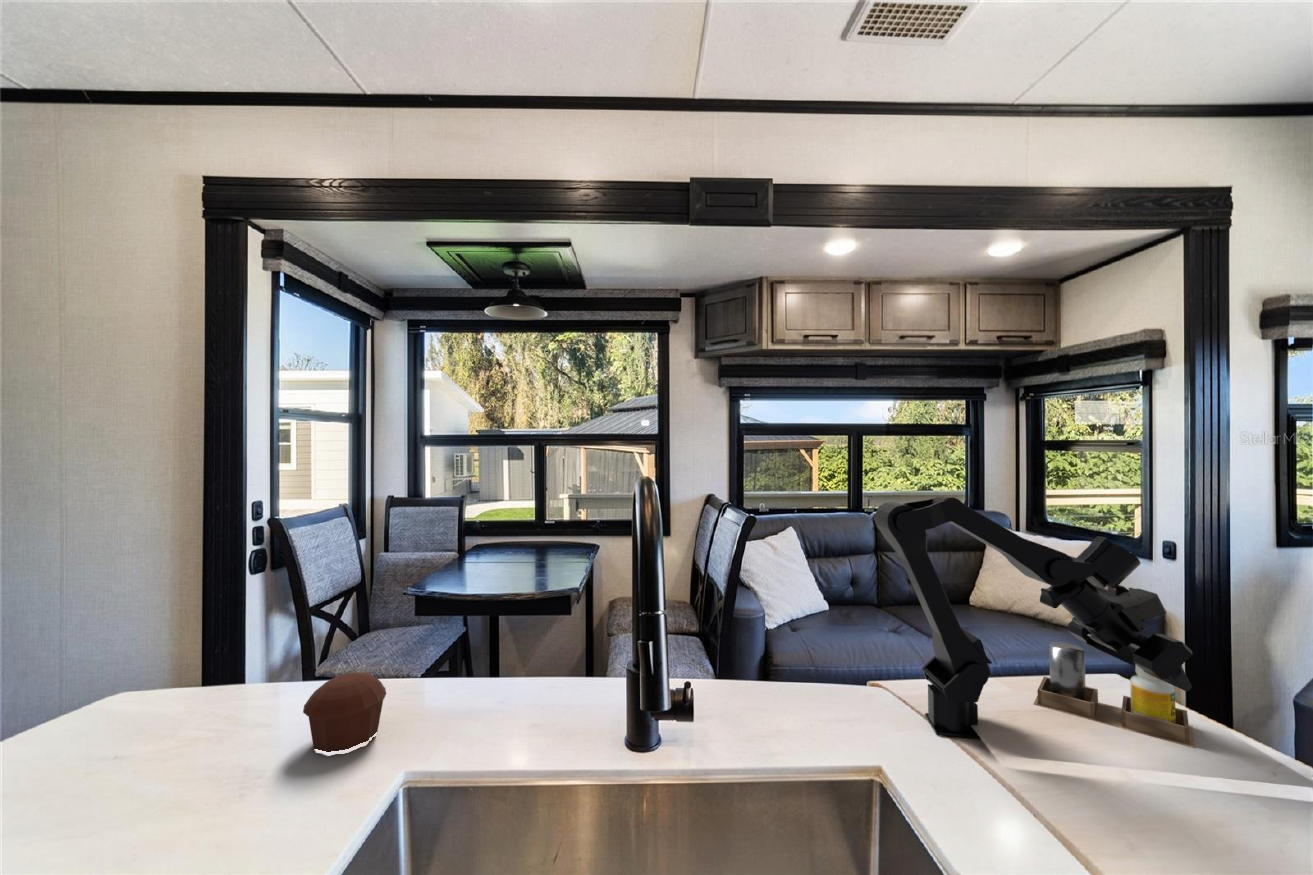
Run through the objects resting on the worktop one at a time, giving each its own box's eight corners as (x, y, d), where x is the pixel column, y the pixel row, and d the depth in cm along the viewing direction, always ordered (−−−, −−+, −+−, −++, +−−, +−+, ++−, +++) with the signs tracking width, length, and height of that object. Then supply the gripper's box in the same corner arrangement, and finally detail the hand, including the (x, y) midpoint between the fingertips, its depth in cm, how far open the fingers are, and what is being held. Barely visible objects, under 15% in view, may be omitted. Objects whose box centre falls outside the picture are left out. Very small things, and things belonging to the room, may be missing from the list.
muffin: (351, 717, 91) (353, 659, 91) (401, 728, 87) (402, 668, 88) (283, 754, 80) (285, 688, 80) (337, 769, 76) (338, 699, 77)
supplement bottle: (1128, 714, 89) (1126, 658, 90) (1171, 724, 86) (1169, 665, 87) (1134, 728, 85) (1133, 668, 85) (1180, 738, 82) (1178, 676, 82)
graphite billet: (1060, 709, 91) (1058, 651, 92) (1044, 696, 96) (1043, 641, 97) (1092, 711, 90) (1091, 653, 91) (1075, 698, 95) (1074, 643, 96)
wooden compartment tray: (1192, 735, 86) (1191, 710, 86) (1195, 758, 79) (1194, 731, 79) (1041, 695, 100) (1040, 674, 100) (1033, 712, 93) (1032, 689, 93)
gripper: (1176, 588, 77) (1260, 665, 76) (1083, 562, 96) (1149, 624, 95) (1121, 640, 78) (1203, 718, 77) (1039, 604, 96) (1104, 666, 95)
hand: (1162, 676), depth 86 cm, fingers open, 9 cm apart
